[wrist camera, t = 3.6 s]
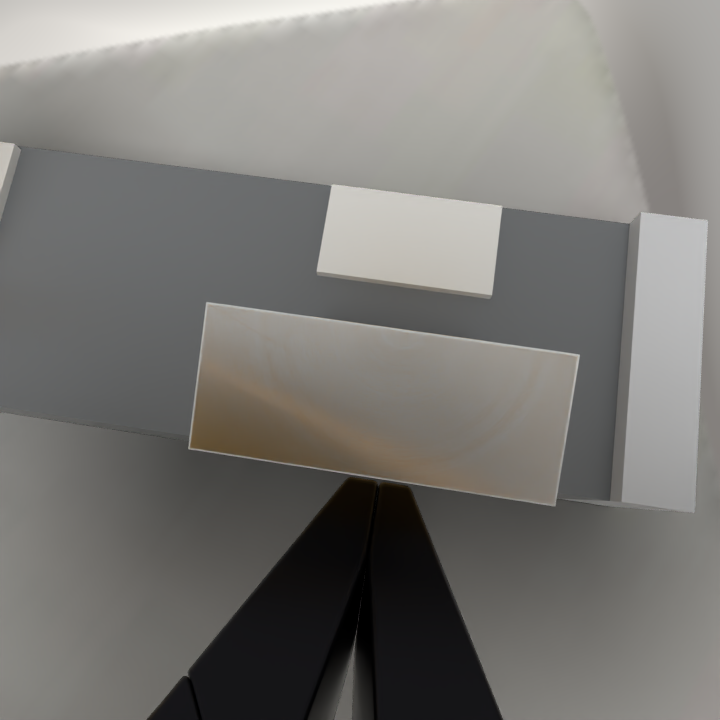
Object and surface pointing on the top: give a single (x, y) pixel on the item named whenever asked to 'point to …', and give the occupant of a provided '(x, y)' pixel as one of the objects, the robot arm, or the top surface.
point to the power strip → (345, 299)
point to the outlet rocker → (383, 402)
